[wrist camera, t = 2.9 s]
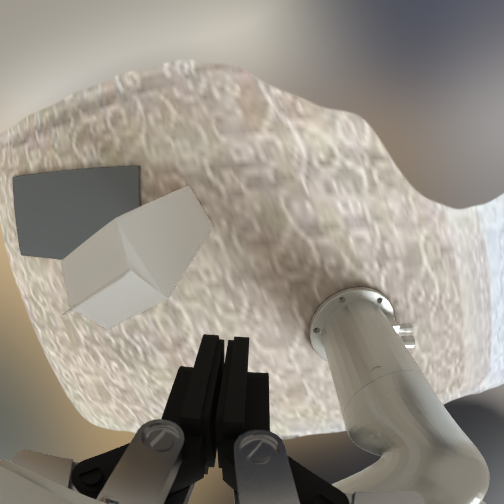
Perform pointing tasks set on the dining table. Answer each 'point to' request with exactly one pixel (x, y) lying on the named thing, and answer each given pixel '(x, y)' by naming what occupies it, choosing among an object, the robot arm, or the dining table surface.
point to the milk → (135, 259)
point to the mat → (70, 206)
